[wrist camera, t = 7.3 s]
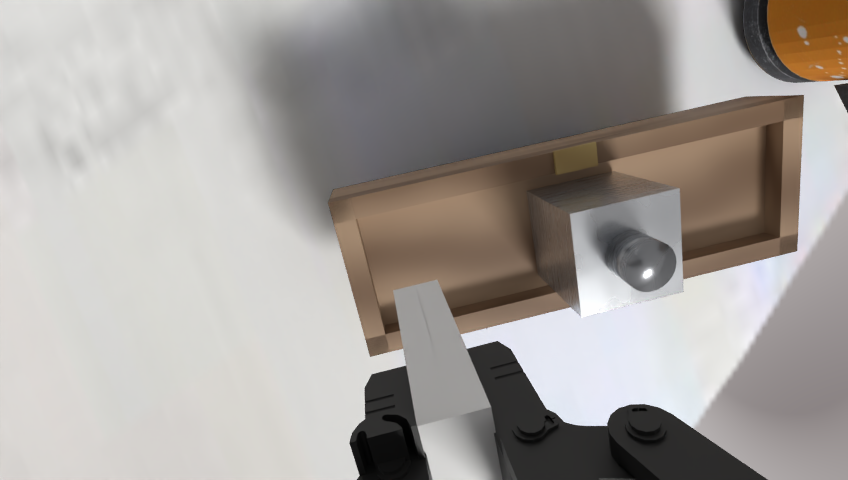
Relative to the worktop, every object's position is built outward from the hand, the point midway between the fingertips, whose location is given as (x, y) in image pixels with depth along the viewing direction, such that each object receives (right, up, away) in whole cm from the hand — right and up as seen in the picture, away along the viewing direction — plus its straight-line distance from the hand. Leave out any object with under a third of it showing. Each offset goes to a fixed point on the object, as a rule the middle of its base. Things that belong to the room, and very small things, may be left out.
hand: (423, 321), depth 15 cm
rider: (+8, +4, +8) cm, 12 cm away
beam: (+7, +5, +14) cm, 17 cm away
